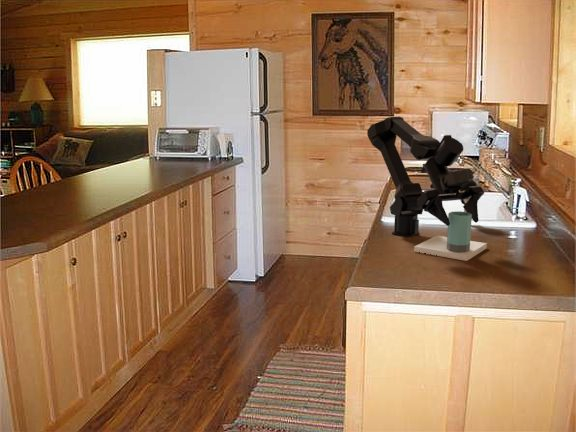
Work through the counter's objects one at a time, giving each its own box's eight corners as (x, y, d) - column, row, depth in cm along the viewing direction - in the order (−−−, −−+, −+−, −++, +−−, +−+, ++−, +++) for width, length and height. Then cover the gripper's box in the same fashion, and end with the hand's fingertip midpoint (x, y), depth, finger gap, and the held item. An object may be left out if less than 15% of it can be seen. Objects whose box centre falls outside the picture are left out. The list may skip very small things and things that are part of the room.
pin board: (414, 251, 171) (414, 234, 170) (436, 240, 183) (437, 224, 182) (466, 260, 162) (467, 242, 161) (486, 248, 174) (487, 231, 173)
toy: (477, 227, 199) (480, 181, 196) (456, 226, 200) (458, 180, 197) (474, 221, 207) (477, 177, 204) (454, 220, 208) (457, 176, 205)
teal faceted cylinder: (443, 250, 167) (445, 214, 165) (453, 245, 171) (455, 210, 169) (463, 253, 164) (465, 216, 161) (472, 249, 168) (474, 213, 166)
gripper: (424, 160, 162) (448, 209, 155) (482, 156, 169) (507, 203, 161) (407, 185, 171) (428, 232, 163) (462, 180, 178) (485, 226, 170)
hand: (463, 223), depth 164 cm, fingers open, 9 cm apart
